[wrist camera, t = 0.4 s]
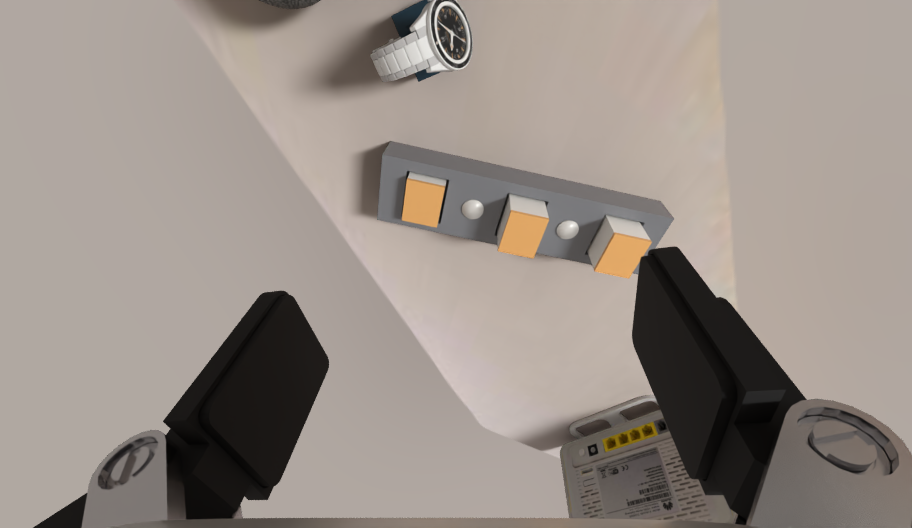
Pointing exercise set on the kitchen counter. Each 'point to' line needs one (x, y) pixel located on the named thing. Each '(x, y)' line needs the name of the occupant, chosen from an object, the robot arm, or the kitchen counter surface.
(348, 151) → the kitchen counter surface
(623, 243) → the switch
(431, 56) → the watch
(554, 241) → the power strip
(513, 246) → the middle switch
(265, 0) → the decorative ball
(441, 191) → the on switch
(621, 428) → the network device
